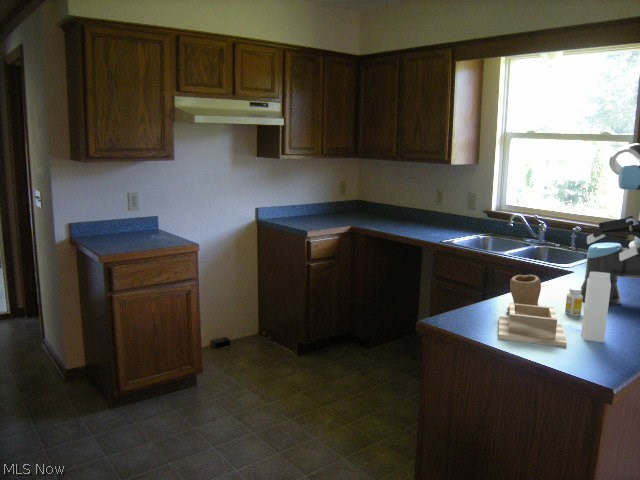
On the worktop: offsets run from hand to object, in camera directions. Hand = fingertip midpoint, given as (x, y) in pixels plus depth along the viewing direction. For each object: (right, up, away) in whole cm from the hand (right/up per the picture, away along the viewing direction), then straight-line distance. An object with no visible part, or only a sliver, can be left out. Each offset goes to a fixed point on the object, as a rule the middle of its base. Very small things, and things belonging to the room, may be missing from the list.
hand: (604, 248), depth 177 cm
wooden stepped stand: (-23, -28, +3) cm, 36 cm away
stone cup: (-17, -25, +20) cm, 36 cm away
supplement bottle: (+1, -25, +24) cm, 34 cm away
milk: (-5, -29, -1) cm, 30 cm away
